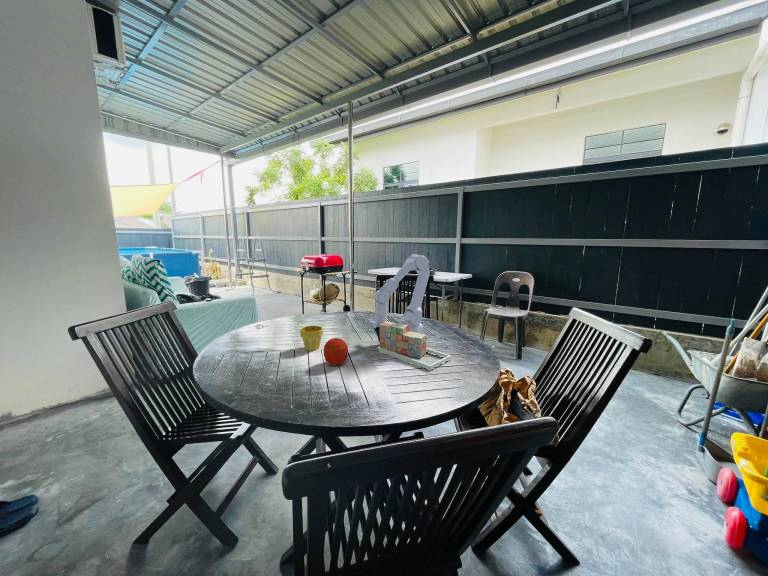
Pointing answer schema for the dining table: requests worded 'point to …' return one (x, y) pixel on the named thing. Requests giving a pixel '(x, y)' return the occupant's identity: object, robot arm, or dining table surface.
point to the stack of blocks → (402, 340)
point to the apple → (335, 351)
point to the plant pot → (311, 336)
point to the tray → (416, 360)
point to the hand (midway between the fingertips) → (381, 341)
